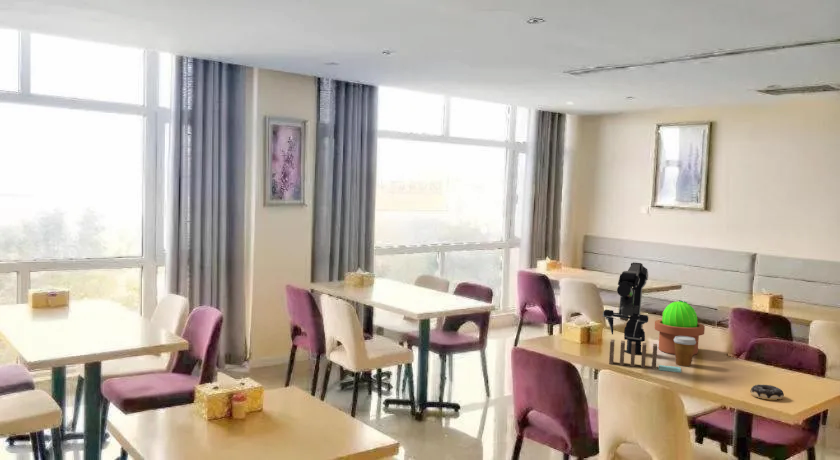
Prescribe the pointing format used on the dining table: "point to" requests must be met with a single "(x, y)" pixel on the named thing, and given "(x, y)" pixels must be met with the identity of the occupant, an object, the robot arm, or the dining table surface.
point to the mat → (669, 368)
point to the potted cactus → (678, 326)
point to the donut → (767, 392)
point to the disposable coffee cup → (684, 350)
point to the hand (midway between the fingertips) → (623, 335)
